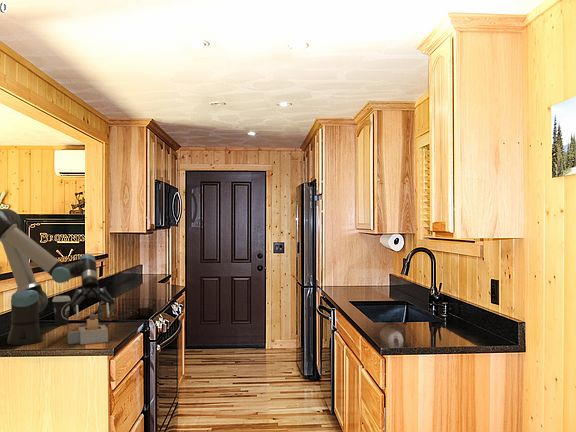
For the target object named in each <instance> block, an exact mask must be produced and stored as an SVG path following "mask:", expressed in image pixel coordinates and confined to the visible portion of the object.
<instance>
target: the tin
mask: <svg viewBox="0 0 576 432" xmlns="http://www.w3.org/2000/svg"><path fill="white" fill-rule="evenodd" d="M98 306H99V305H98ZM98 308H99V312H98ZM109 313H110V314H109V317H107V309H106V305H100V306H99V307H97V310H96V314H97V317H98V318H97V319H98V320H101V321H108V322H111V321H112V322H113V321H115V320H116V319H117V318H118V309H117V307H116V306H111V310H109Z"/></svg>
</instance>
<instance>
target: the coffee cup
mask: <svg viewBox="0 0 576 432" xmlns="http://www.w3.org/2000/svg"><path fill="white" fill-rule="evenodd" d="M71 299H72V298H71V297H70V296H69V295H57V296H54V297H53V298H52V300H51V302H52V303H53V304H52V307H53V313H54V314H53V315H54V322H55V323H54V324H55V326H65V325H69V320H70V319H69V317H70V307H69V303H70V301H71Z"/></svg>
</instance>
